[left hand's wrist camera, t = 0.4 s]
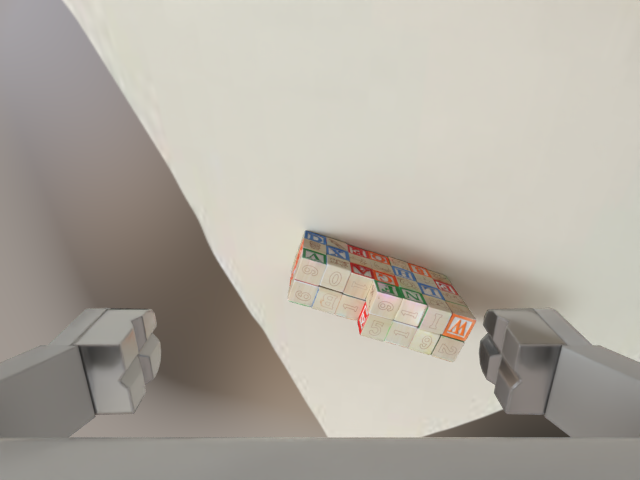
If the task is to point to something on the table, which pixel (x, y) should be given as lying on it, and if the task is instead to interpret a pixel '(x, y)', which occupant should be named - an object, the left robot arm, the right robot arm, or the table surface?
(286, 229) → the table surface
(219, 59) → the table surface
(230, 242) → the table surface
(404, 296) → the stack of blocks
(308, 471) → the left robot arm
